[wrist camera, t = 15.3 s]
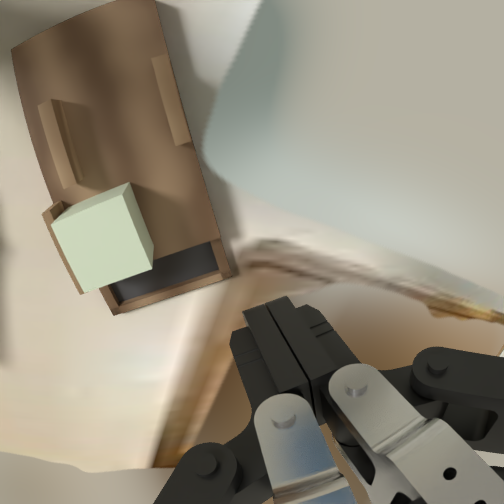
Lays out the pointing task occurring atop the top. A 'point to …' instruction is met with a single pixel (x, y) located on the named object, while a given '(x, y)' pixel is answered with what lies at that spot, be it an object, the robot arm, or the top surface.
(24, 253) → the top surface
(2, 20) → the top surface
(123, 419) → the top surface
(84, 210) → the block
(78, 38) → the board
